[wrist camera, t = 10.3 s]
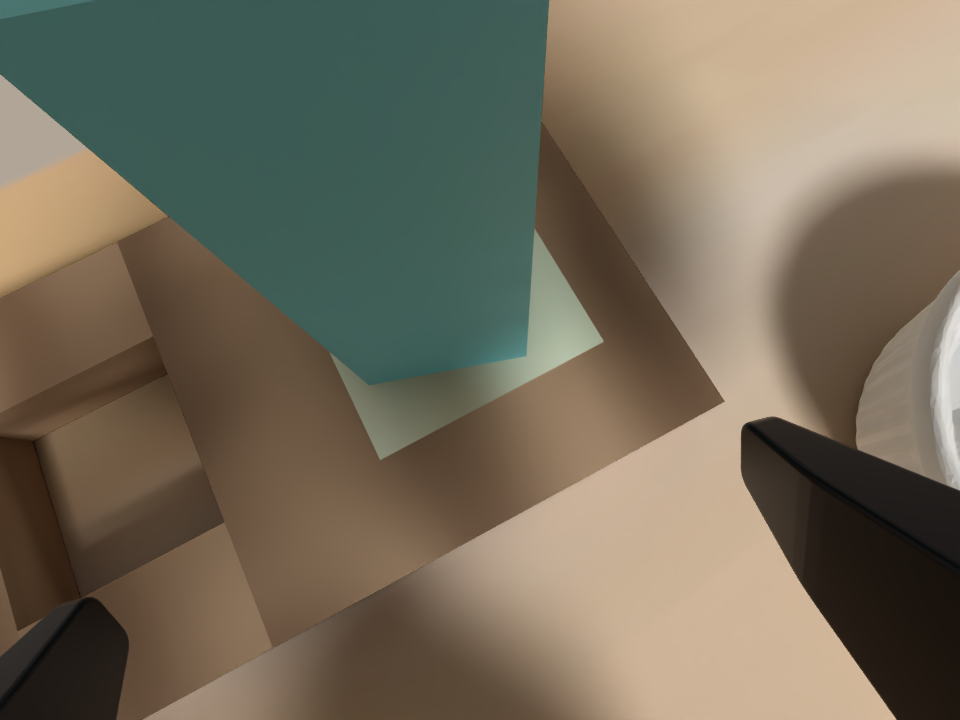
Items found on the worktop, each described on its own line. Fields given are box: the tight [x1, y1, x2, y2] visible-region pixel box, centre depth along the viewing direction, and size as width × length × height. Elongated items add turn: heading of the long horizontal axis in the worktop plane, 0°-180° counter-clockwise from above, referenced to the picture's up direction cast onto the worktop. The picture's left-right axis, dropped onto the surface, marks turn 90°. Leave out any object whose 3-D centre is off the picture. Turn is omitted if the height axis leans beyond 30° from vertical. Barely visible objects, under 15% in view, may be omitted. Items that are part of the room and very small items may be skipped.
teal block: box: [0, 0, 549, 385], centre depth 11 cm, size 4×4×12 cm
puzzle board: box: [0, 122, 725, 720], centre depth 18 cm, size 22×13×3 cm, turn 118°
